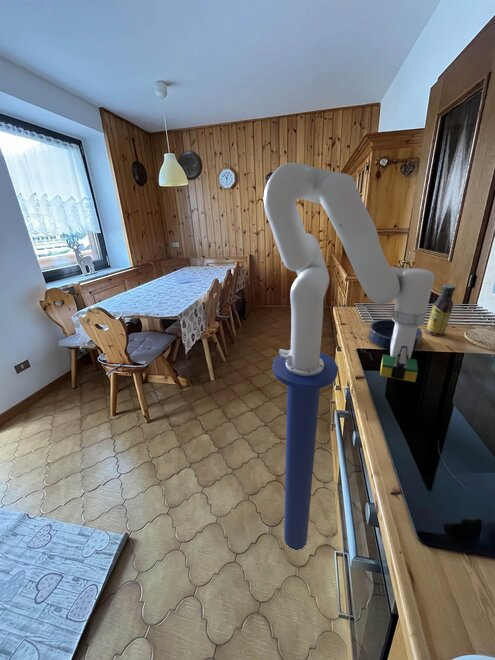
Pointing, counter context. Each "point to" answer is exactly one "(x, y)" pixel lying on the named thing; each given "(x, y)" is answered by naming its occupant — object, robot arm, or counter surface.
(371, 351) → the counter surface
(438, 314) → the sauce bottle
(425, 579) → the counter surface
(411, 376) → the sponge
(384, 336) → the bowl
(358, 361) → the counter surface
